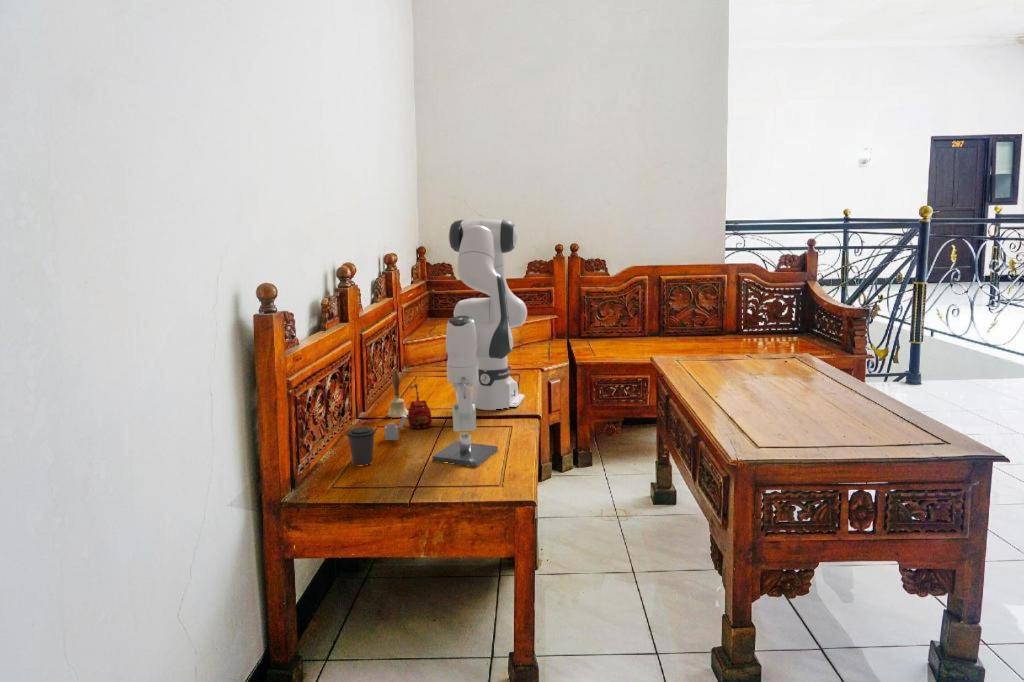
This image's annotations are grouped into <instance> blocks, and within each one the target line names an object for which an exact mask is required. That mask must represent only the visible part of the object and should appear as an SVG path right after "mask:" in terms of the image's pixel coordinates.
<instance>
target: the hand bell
mask: <svg viewBox="0 0 1024 682" xmlns="http://www.w3.org/2000/svg"><path fill="white" fill-rule="evenodd" d="M391 380H392V381H391V382H392V386H393V389H394V398H393V399H392V400H391V401H390V409H389V411H388V412H387V413H388V414H387V413H386V415H389V416H391V417H403V414H405V415H408V411H409V409H408V408H407V407H406V404H405V400H404V399H403V398H401V397H400V384H401V377H400V375H399V372H398V369H397V370H396V369H395V370H393V371H392V376H391Z"/></svg>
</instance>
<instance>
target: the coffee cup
mask: <svg viewBox="0 0 1024 682" xmlns="http://www.w3.org/2000/svg"><path fill="white" fill-rule="evenodd" d="M375 434H376V430H375V428H373V427H366V426H361V427H354V428H352V429H349V430H348V431H347V433H346V436H347V437H348V442H349V443H348V444H349V447H350V454H351V459H352V464H353V465H354V464H355V465H366V464H370V463H371V462H372V461H373V459H374V456H373V455H374V445H375V444H374V441H375V440H374V439H375ZM372 463H373V462H372ZM355 465H354V466H355ZM370 465H371V464H370Z"/></svg>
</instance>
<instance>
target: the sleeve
mask: <svg viewBox="0 0 1024 682" xmlns="http://www.w3.org/2000/svg"><path fill="white" fill-rule="evenodd" d="M451 408H452V410H451V412H452V414H451V415H452V429H453V432H466V431H467V432H469V431H477V412H476V411H477V410H476V409H477V408H475V405H474V404H472V414H469V418H468V426H462V417H461V415H460V414H459V411H458V404H452V405H451Z"/></svg>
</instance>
